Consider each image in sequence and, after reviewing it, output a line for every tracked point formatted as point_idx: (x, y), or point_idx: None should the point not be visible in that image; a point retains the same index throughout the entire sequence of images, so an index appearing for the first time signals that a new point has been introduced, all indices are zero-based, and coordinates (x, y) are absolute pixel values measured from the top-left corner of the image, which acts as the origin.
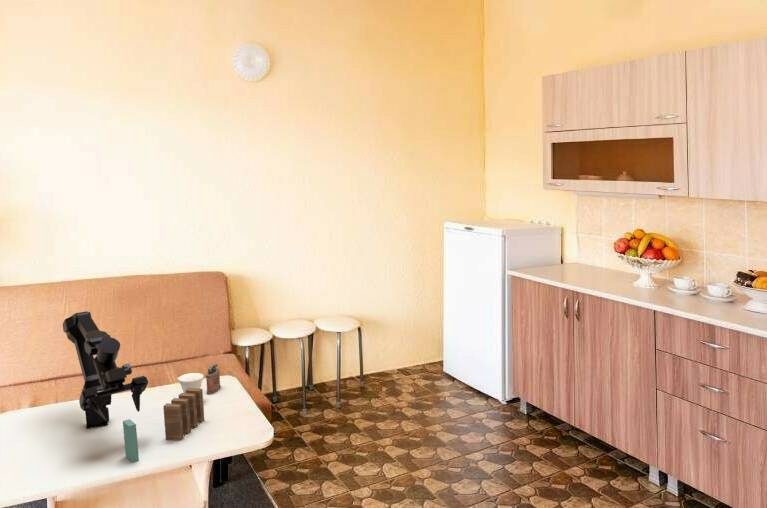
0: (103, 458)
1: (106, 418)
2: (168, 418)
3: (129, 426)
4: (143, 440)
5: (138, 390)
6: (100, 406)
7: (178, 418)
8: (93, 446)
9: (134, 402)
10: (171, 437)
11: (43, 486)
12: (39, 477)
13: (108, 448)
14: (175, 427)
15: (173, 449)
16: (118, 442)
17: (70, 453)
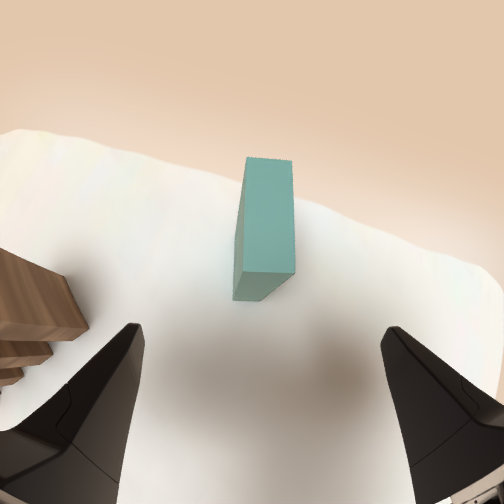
0: (324, 347)
1: (397, 327)
2: (32, 304)
3: (287, 161)
4: (151, 391)
5: (17, 444)
6: (467, 391)
7: (14, 256)
8: (314, 466)
9: (121, 440)
10: (73, 306)
11: (467, 278)
12: (468, 338)
13: (281, 420)
14: (43, 280)
15: (112, 226)
16: (233, 445)
17: (382, 452)
